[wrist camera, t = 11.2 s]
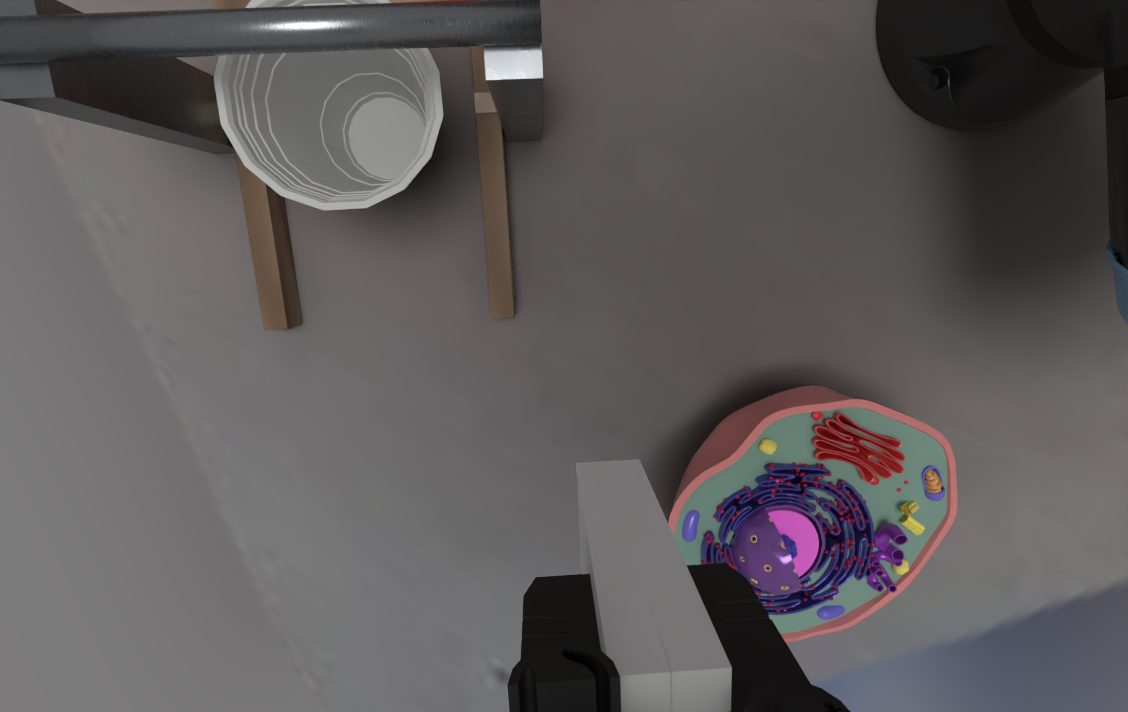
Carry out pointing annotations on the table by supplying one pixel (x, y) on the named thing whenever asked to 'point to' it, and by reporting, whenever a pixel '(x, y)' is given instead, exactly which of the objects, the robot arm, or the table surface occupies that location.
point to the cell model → (817, 505)
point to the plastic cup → (331, 118)
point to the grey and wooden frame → (187, 95)
